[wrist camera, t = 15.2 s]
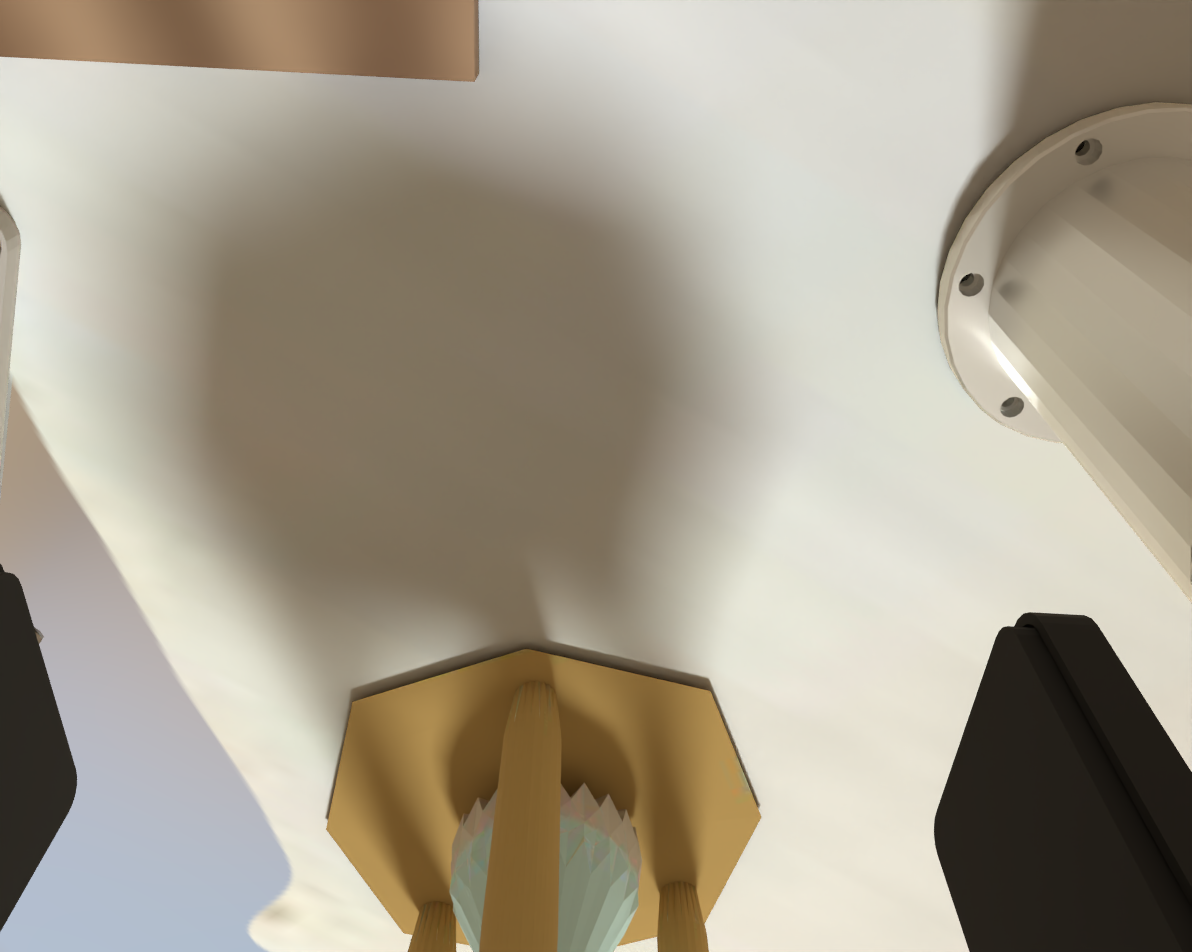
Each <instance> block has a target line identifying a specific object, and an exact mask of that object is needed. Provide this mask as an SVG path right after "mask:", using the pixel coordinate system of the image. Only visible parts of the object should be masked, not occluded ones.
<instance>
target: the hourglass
mask: <svg viewBox="0 0 1192 952" xmlns="http://www.w3.org/2000/svg"><path fill="white" fill-rule="evenodd" d="M760 819H761V815H760V812H759V810H758V807H757V805H756V802H755V800H754V798H753V795H752V793H751V790H750V788H749V785H748V783H747V780H746V778H745V775H744V773H743V770H742V768H741V765H740V763H739V760H738V758H737V755H736V753H735V751H734V748H733V746H732V743H731V741H730V738H729V736H728V733H727V731H726V728H725V726H724V723H723V721H722V718H721V716H720V713H719V711H718V708H717V706H716V704H715V701H714V699H713V696H712V694H711V691H708V690H704V689H699V688H695V687H691V686H686V685H682V684H678V683H673V682H669V681H665V680H660V679H656V678H652V677H647V676H643V675H639V674H634V673H630V672H626V671H621V670H617V669H613V668H608V667H604V666H600V665H595V664H591V663H587V662H582V661H578V660H574V659H569V658H565V657H561V656H556V655H552V654H548V653H543V652H539V651H535V650H531V649H523V650H520V651H517V652H513V653H510V654H507V655H504V656H500V657H497V658H494V659H491V660H487V661H484V662H481V663H477V664H474V665H471V666H468V667H464V668H461V669H458V670H455V671H451V672H448V673H445V674H442V675H438V676H435V677H432V678H428V679H425V680H422V681H419V682H415V683H412V684H409V685H406V686H402V687H399V688H396V689H393V690H389V691H386V692H383V693H379V694H376V695H373V696H370V697H366V698H363V699H360V700H357V701H353V702H352V706H351V711H350V716H349V721H348V726H347V731H346V736H345V740H344V745H343V750H342V755H341V760H340V765H339V770H338V774H337V779H336V784H335V789H334V794H333V799H332V804H331V809H330V813H329V818H328V823H327V828H326V830H327V831H328V832H329V834H330V835H331V836H332V838H333V839H334V840H335V842H336V843H337V844H338V846H339V847H340V848H341V850H342V851H343V852H344V854H345V855H346V856H347V858H348V859H349V860H350V862H351V863H352V864H353V866H354V867H355V869H356V870H357V871H358V873H359V874H360V875H361V877H362V878H363V879H364V881H365V882H366V883H367V885H368V886H369V887H370V889H371V890H372V891H373V893H374V894H375V895H376V897H377V898H378V899H379V901H380V902H381V903H382V905H383V906H384V907H385V909H386V910H387V911H388V913H389V914H390V916H391V917H392V918H393V920H394V921H395V922H396V924H397V925H398V926H399V928H400V929H401V930H402V932H403V933H405V934H411V935H413V936H412V939H411V942H410V946H409V949H408V952H456V943H460V944H466V945H470V947H471V948H472V950H473V952H614V950H615V948H616V947H617V946H620V945H624V944H628V943H632V942H637V941H641V940H645V939H649V938H653V937H657V942H658V952H709V950H708V942H707V934H706V929H705V925H704V923H705V922H706V920H707V918H708V916H709V914H710V912H711V910H712V909H713V907H714V905H715V903H716V901H717V899H718V897H719V895H720V894H721V892H722V890H723V888H724V886H725V884H726V882H727V880H728V879H729V877H730V875H731V873H732V871H733V869H734V867H735V866H736V864H737V862H738V860H739V858H740V856H741V854H742V852H743V851H744V849H745V847H746V845H747V843H748V841H749V839H750V837H751V836H752V834H753V832H754V830H755V828H756V826H757V824H758V823H759V821H760Z"/></svg>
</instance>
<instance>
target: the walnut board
mask: <svg viewBox="0 0 1192 952" xmlns="http://www.w3.org/2000/svg"><path fill="white" fill-rule="evenodd" d="M0 57H19V58H38V59H57V60H76V61H94V62H113V63H132V64H151V65H170V66H188V67H207V68H226V69H245V70H264V71H282V72H301V73H320V74H339V75H358V76H376V77H395V78H414V79H433V80H452V81H470V82H475V80H476V78H477V76H478V74H479V18H478V0H0Z"/></svg>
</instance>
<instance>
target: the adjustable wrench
mask: <svg viewBox="0 0 1192 952" xmlns="http://www.w3.org/2000/svg"><path fill="white" fill-rule="evenodd" d="M0 242H1V250H0V498H1V488H2V477H3V468H4V457H5V448H6V438H7V428H8V417H9V407H10V398H11V388H12V377H11V375H10V373H9V368H10V357H11V347H12V336H13V325H14V314H15V303H16V293H17V282H18V271H19V260H20V249H21V240H20V233H19V230H18V228H17V226H16V223H15V222H14V220H13V219H12V218H11V217H10V215H9V214H8V213H7V212H6V211H5V210H4V209H3V208H1V207H0ZM34 630H35V633H36V636H37V640H38V643H40V642H41V640H42V639H43V637H44V636H43V634H42V633H41V632H40V631H39V630H38V629H36V628H35V627H34Z"/></svg>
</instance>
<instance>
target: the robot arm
mask: <svg viewBox="0 0 1192 952" xmlns="http://www.w3.org/2000/svg"><path fill="white" fill-rule="evenodd" d="M1083 141H1084V147H1083V148H1082V150H1080V151H1079V152H1076V153H1075V151H1076V149H1077V147H1078V146H1079V144H1080V143H1082V142H1083ZM967 274H970V276H969V278H968V279H967V280H966V281H964V282H960V281H961V279H962V278H963V277H964V276H966V275H967ZM937 315H938V324H939V332H940V340H941V344H942V347H943V350H944V352H945V355H946V358H947V361H948V364H949V366H950V368H951V370H952V372H953V373H954V375H955V376H956V378H957V379H958V381H959V383H960V384H961V386H962V388H963V389H964V390H965V391H966V393H967V394H968V395H969V396H970V397H971V399H972V400H973V401H974V402H975V403H976V404H977V406H978V407H979V408H980V409H981V410H982V411H983V412H985V413H986V414H987V415H989V416H990V417H991V418H992V419H994V420H995V421H996V422H998V423H999V424H1001V425H1003V426H1005V427H1007V428H1010V429H1012V430H1014V431H1016V432H1019V433H1021V434H1023V435H1025V436H1028V437H1032V438H1036V439H1041V440H1045V441H1050V442H1054V443H1063V444H1064V445H1065V446H1066V447H1067V449H1068V450H1069V451H1070V452H1071V453H1072V455H1073V456H1074V457H1075V458H1076V460H1077V461H1078V462H1079V463H1080V465H1081V466H1082V467H1083V468H1084V470H1085V471H1086V472H1087V473H1088V475H1089V476H1090V477H1091V478H1092V480H1093V481H1094V482H1095V483H1096V485H1097V486H1098V487H1099V488H1100V490H1101V491H1102V492H1103V493H1104V495H1105V496H1106V497H1107V498H1108V500H1109V501H1110V502H1111V503H1112V504H1113V506H1114V507H1115V508H1116V509H1117V511H1118V512H1119V513H1120V514H1121V516H1122V517H1123V518H1124V519H1125V521H1126V522H1127V523H1128V524H1129V526H1130V527H1131V528H1132V529H1133V531H1134V532H1135V533H1136V534H1137V536H1138V537H1139V538H1140V539H1141V541H1142V542H1143V543H1144V544H1145V546H1146V547H1147V548H1148V549H1149V551H1150V552H1151V553H1152V554H1153V556H1154V557H1155V558H1156V559H1157V560H1158V562H1159V563H1160V564H1161V565H1162V567H1163V568H1164V569H1165V570H1166V572H1167V573H1168V574H1169V575H1170V577H1171V578H1172V579H1173V580H1174V582H1175V583H1176V584H1177V585H1178V587H1179V588H1180V589H1181V590H1182V592H1183V593H1184V594H1185V595H1186V597H1187V598H1188V599H1189V600H1190V602H1191V603H1192V104H1179V103H1160V102H1153V103H1146V104H1139V105H1132V106H1125V107H1118V108H1115V109H1112V110H1109V111H1106V112H1103V113H1100V114H1097V115H1094V116H1090V117H1087V118H1084V119H1081V120H1079V121H1077V122H1075V123H1074V124H1072V125H1070V126H1068V127H1066V128H1064V129H1062V130H1060V131H1058V132H1056V133H1054V134H1052V135H1050V136H1049V137H1047V138H1045V139H1044V140H1042V141H1041V142H1040V143H1038V144H1037V145H1036V146H1034V147H1033V148H1032V149H1030V150H1029V151H1027V152H1026V153H1025V154H1023V155H1022V156H1021V157H1019V158H1018V159H1017V160H1015V161H1014V162H1013V163H1012V164H1011V165H1010V166H1009V167H1008V168H1007V169H1006V170H1005V171H1004V172H1003V173H1002V174H1001V175H1000V176H999V177H998V178H997V179H996V180H995V181H994V182H993V183H992V184H991V185H990V186H989V187H988V188H987V189H986V191H985V192H984V193H983V195H982V196H981V198H980V199H979V200H978V202H977V203H976V205H975V206H974V207H973V209H972V210H971V211H970V213H969V214H968V216H967V217H966V218H965V220H964V222H963V224H962V226H961V228H960V230H959V232H958V234H957V236H956V238H955V240H954V242H953V244H952V246H951V248H950V250H949V253H948V257H947V260H946V264H945V267H944V271H943V274H942V278H941V281H940V288H939V299H938V311H937ZM1005 400H1006V401H1005ZM76 786H77V774H76V768H75V765H74V762H73V758H72V755H71V751H70V748H69V745H68V741H67V738H66V735H65V731H64V728H63V724H62V721H61V718H60V714H59V711H58V708H57V704H56V701H55V697H54V694H53V690H52V687H51V684H50V680H49V677H48V674H47V670H46V667H45V663H44V660H43V657H42V653H41V650H40V647H39V643H38V640H37V636H36V633H35V630H34V626H33V623H32V620H31V616H30V613H29V609H28V606H27V603H26V599H25V596H24V592H23V589H22V586H21V584H20V581H19V579H18V578H17V577H16V576H15V575H14V574H11V573H6V572H4V570H3V567H2V565H1V564H0V931H1V930H2V928H3V926H4V924H5V923H6V921H7V919H8V917H9V916H10V914H11V912H12V910H13V909H14V907H15V905H16V903H17V902H18V900H19V898H20V896H21V895H22V893H23V891H24V889H25V888H26V886H27V884H28V882H29V880H30V879H31V877H32V875H33V874H34V872H35V870H36V868H37V867H38V865H39V863H40V861H41V860H42V858H43V856H44V854H45V853H46V851H47V849H48V847H49V846H50V844H51V842H52V840H53V839H54V837H55V835H56V833H57V832H58V830H59V828H60V826H61V825H62V823H63V821H64V819H65V818H66V816H67V814H68V812H69V810H70V808H71V806H72V803H73V800H74V797H75V793H76ZM934 838H935V846H936V850H937V854H938V857H939V860H940V863H941V866H942V869H943V872H944V876H945V879H946V882H947V885H948V888H949V891H950V894H951V897H952V900H953V903H954V906H955V909H956V912H957V915H958V918H959V921H960V924H961V927H962V930H963V933H964V936H965V939H966V942H967V945H968V948H969V951H970V952H1192V772H1191V771H1190V769H1189V767H1188V766H1187V764H1186V763H1185V761H1184V760H1183V758H1182V757H1181V755H1180V753H1179V752H1178V750H1177V749H1176V747H1175V746H1174V744H1173V742H1172V741H1171V739H1170V738H1169V736H1168V735H1167V733H1166V731H1165V730H1164V728H1163V727H1162V725H1161V724H1160V722H1159V721H1158V719H1157V717H1156V716H1155V714H1154V713H1153V711H1152V710H1151V708H1150V706H1149V705H1148V703H1147V702H1146V700H1145V699H1144V697H1143V696H1142V694H1141V692H1140V691H1139V689H1138V688H1137V686H1136V685H1135V683H1134V681H1133V680H1132V678H1131V677H1130V675H1129V674H1128V672H1127V670H1126V669H1125V667H1124V666H1123V664H1122V663H1121V661H1120V660H1119V658H1118V656H1117V655H1116V653H1115V652H1114V650H1113V649H1112V647H1111V645H1110V644H1109V642H1108V641H1107V639H1106V638H1105V636H1104V635H1103V633H1102V631H1101V630H1100V628H1099V627H1098V625H1097V624H1096V623H1095V622H1094V621H1093V620H1092V619H1091V618H1089V617H1087V616H1085V615H1068V614H1049V613H1031V612H1029V613H1025V614H1023V615H1022V616H1021V617H1020V618H1019V619H1018V620H1017V622H1016V624H1015V626H1014V627H1010V626H1007V627H1003V628H1002V629H1001V630H1000V631H999V633H998V635H997V637H996V639H995V642H994V645H993V648H992V651H991V654H990V657H989V660H988V663H987V666H986V669H985V671H984V674H983V677H982V680H981V683H980V686H979V689H978V692H977V695H976V698H975V701H974V704H973V707H972V710H971V712H970V715H969V718H968V721H967V724H966V727H965V730H964V733H963V736H962V739H961V742H960V745H959V748H958V751H957V753H956V756H955V759H954V762H953V765H952V768H951V771H950V774H949V777H948V780H947V783H946V786H945V789H944V792H943V794H942V797H941V800H940V803H939V806H938V809H937V812H936V816H935V823H934Z"/></svg>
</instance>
